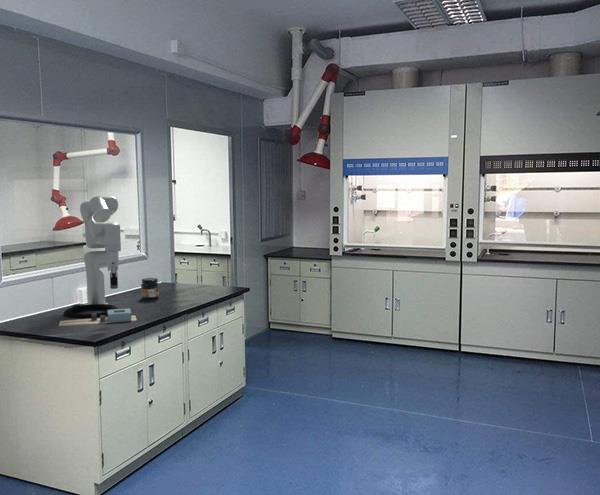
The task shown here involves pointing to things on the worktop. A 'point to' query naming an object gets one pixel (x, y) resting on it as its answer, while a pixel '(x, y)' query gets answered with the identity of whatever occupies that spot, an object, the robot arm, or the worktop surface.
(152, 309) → the worktop surface
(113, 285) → the connector plug
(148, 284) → the supplement container
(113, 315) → the end holder
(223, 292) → the worktop surface
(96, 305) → the cable lock
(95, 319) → the board
